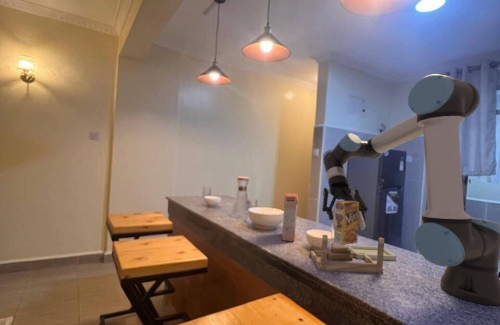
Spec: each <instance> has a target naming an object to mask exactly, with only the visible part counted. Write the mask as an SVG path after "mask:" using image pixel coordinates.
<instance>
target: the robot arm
mask: <svg viewBox="0 0 500 325" xmlns="http://www.w3.org/2000/svg"><path fill="white" fill-rule="evenodd" d="M480 101H481V95H480V92H479V90H478V88H477V87H476V86H475V85H474V84H473V83H471V82H468V81H466V80H465V81H464V80H460V79H457V78H453V77H451V76H449V75H448V74H447V75H445V74H437V73H436V74H435V73H434V74H428V75H426V76H424V77H422V78H420V79H419V80H418V81H417V82H415V84H414V85H413V87H411V89H410V90H409V93H408V96H407V105H408V107H409V109H410V110H411V111H412V113H414V115H412V116H411V117H409V118H407V119H405V120H403V121H401V122H398V123H397V124H396V125H394V126H392V127H390V128H388V129H386V130H384V131H383V132H381V133H379V134H377V135H374V137H372V138H369V139H368V140H361V138H360V137H359V136H358V135H356V134H354V133H351V132H350V133H346V134H345V135H344V136H343V137H342V138H341V139H340V140H339V142H338V143H337V144H336V146H335V147H334V148H333V149H331V148H330V149H328V150H327V151H325V152H324V153H323V155H322V162H323V166H324V170H325V173H326V178H327V182H328V187H329V189H328V188H327V187H324V189H323V190H322V194H323V199H322V200H323V201H322V208H321V209H322V210H321V211H322V212H323V213H325V212H326V214H327V215H328V216H327V217H328V220H330V221H331V223H332V228H333V230H334V229H336V227H337V225H338V224H337V220H336V215H335V209H333V207H334V205H335V204H336V200H337V201H356V202H359V213H358V226H359V228H360V230H361V231H364V229H365V228H366V223H365V220H366V215H365V214H366V213H367V211H368V207H367V205H366V204H365V201H364V200H363V198H362V197H361V195H360V194H359V193H360V192H359V190H358V189H355V190H352V189H351V188H350V185H349V182H348V178H347V174H346V171H345V168H344V165H345V164H346V163H347V162H348V161H349V160H350V159H351V158H355V159H368V160H374V159H375V160H377V159H379V158H381V157H382V156H383V155H384V153H385V152H388V151H390V150H392V149H395V148H396V147H398V146H401V145H403V144H406V143H408V142H409V141H412V140H413V139H416V138H419V137H421V136H423V148H424V151H423V152H424V166H425V167H424V168H425V185H426V186H425V188H426V205H427V207H426V208H427V209H426V211H424V212H423V213H422V214H421V224H420V225H419V226H418V227H417V229H415V231H414V235H413V236H414V237H413V238H414V239H413V240H414V244H415V247H416V249H417V251H418V252H419V253H420V255H421V256H422V257H423V258H424V259H425V260H426V261H428V262H429V263H431V264H433V265H435V266H440V267H445V270H444V271H443V274H442V276H441V278H440V287H441V288H442V290H444V291H445V292H447V293H449V294H450V295H452V296H454V297H456V298H457V297H458V298H460V299H462V300H464V301H465V300H466V301H468V302H472V303H475V304H480V305H486V306H500V276H499V273H498V272H499V260H500V223H498V222H497V221H493V220H489V219H488V220H487V219H483V218H479V217H478V218H477V217H472V216H471V215H470V214H468V213H467V212H466V211H465V209H464V208H465V207H464V206H465V205H464V191H463V188H464V187H463V175H462V161H461V160H462V159H461V143H460V128H459V126H460V124H462V123H463V122H464V121H466V120H465V119H467V118H468V117H470V116H472V114H474V113H475V111H476V110H477V108H478V106H479V105H480ZM329 194H330V195H331V196H332V199H331V202H330V204H329V206H328V200H329Z"/></svg>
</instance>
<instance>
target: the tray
mask: <svg viewBox="0 0 500 325" xmlns="http://www.w3.org/2000/svg"><path fill="white" fill-rule="evenodd" d="M346 247H347V248H348V249H349V250H350V251H351V252H352V253H356V257H355V259H357V260H358V259H359V260H364V255H367V256H368V257H370V258H371V259H372V260H373V261H375V260H376V261H377V253H378V246H374V245H373V246H372V245H370V246H368V245H352V244H346ZM358 253H365V254H358ZM383 261H395V262H397V256H396V255H395V254H394V253H392V252H391V251H390V250H388V249H386V248H385V247H384V253H383Z"/></svg>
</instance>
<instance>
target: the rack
mask: <svg viewBox="0 0 500 325" xmlns="http://www.w3.org/2000/svg"><path fill="white" fill-rule="evenodd" d="M328 240H329V236H328V235H327V234H322V240H321V250H310V252H309V255H310V256H311V258H312V259H313V262H314V263H315V264H316V265H317V267H318V268H319V270H320V271H325V272H326V271H327V272H328V271H329V272H348V273H349V272H351V273H368V274H370V273H371V274H381V275H382V274H384V267H383V264H384V260H383V253H384V248H385V238H383V237H378V240H377V247H378V253H377V260H376V261H375V260H374V259H371V258H370V257H368V256H367V255H364V259H363V260H364V261H366V262H358V261H357V262H355V261H353V258H356V253H352V252H351V251H350V250H349V249H348V248H347V245H332V244H331V248H330V250H328ZM358 254H365V253H358ZM319 256H320V258H321V260H320V258H319ZM327 259H328V260H327ZM335 260H336V261H335ZM339 260H340V261H339Z"/></svg>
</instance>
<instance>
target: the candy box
mask: <svg viewBox="0 0 500 325" xmlns="http://www.w3.org/2000/svg"><path fill="white" fill-rule="evenodd" d="M334 205H335V207H334V208H335V209H334V211H335V215H336V220H337V224H338V225H337V227H336V229H334V228H333V230H334V231H333V236H334V237H333V244H338V245H339V246H347V245H352V244H357V243H358V235H359V234H358V231H359V221H358V213H359V202H356V201H346V200H337V201H335V204H334Z"/></svg>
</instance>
